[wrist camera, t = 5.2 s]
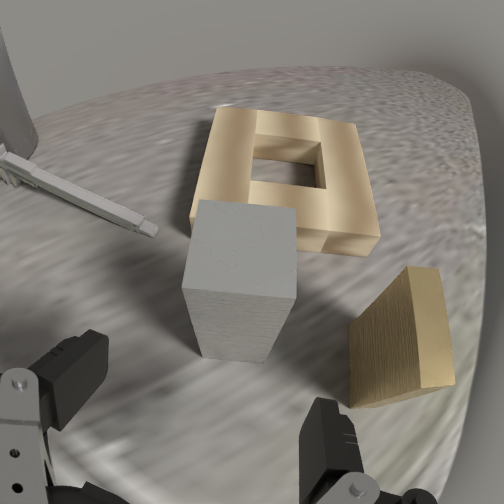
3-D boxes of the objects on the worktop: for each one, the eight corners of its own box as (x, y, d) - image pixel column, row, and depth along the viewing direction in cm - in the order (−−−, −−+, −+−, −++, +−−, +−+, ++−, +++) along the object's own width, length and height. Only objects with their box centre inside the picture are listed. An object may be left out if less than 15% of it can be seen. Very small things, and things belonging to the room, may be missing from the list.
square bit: (202, 357, 20) (181, 287, 11) (209, 302, 23) (199, 199, 13) (263, 363, 21) (296, 298, 11) (266, 308, 23) (296, 208, 13)
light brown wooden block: (349, 408, 19) (420, 388, 12) (348, 326, 22) (406, 265, 15) (376, 407, 19) (455, 384, 12) (373, 327, 22) (438, 268, 15)
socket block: (192, 240, 25) (189, 216, 23) (217, 129, 32) (217, 106, 30) (366, 257, 25) (380, 236, 23) (347, 145, 33) (354, 124, 30)
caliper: (6, 186, 28) (-17, 145, 22) (12, 179, 28) (-10, 138, 23) (154, 240, 25) (138, 186, 20) (160, 229, 26) (146, 175, 20)
